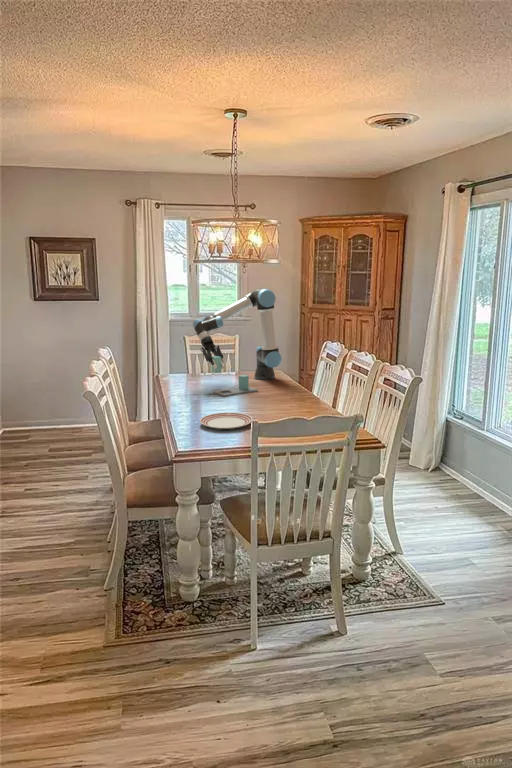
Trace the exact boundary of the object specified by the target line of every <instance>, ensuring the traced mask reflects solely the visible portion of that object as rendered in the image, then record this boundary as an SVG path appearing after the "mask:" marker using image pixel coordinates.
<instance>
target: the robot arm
mask: <svg viewBox="0 0 512 768" xmlns="http://www.w3.org/2000/svg"><path fill="white" fill-rule="evenodd" d="M275 303H276V295H275V293H274V292H273V291H272V290H270V289H268V288H261V287H260V288H257V289H255V290H253V291H251V292H249V293H248V294H245V296H244V297H243V298H241V299H240V300H237V301H235V302H233V303H231V304H229V305H227V306H225V307H224V308H222V309H220V310H217V311H216V312H214V313H212V314H210V315H206V316H205V317H203V319H202V318H196V319H195V320H194V321H193V322H192V327H193V329H194V331H195V333H196V335H197V337H198V339H199V341H200V344H201V348H200V351H201V353H202V354H203V356H204V359H205V361H206V362H208V363H210V365H211V366H212V365H213V367H214V369H215V370H216V369H217V365H216V363H215V361H214V359H212V357H213V356H212V354H213V355H214V357H215V356H219V357H221V370H223V369H224V368H225V364H224V361H223V359H224V355H223V352H222V351H221V349H220V345H219V344H218V345H216V344H215V343H214V340H213V339H212V337H211V334H210V332H211V331H214V330H217V329H220V328H222V327H224V321H226V320H228V319H230V318H232V317H233V316H236V315H238V314H239V313H242V312H243V311H246V310H247V309H249V308H251V309H252V308H254V307H256V308H257V311H258V312H259V314H260V315H259V317H260V325H261V333H262V343H263V345H262V346H257V347H256V368H255V373H254V375H253V377H254V379H256V380H264V381H265V380H268V381H269V380H274V379H275V378H276V373H275V370H274V368H276V367H278V366H279V365H280V364H281V363H282V355H281V353H280V352H279V351H280V350H279V346H278V345H277V342H276V335H275V334H276V332H275V322H274V315H273V314H274V313H273V310H274V309H275Z"/></svg>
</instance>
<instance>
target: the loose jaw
mask: <svg viewBox="0 0 512 768" xmlns="http://www.w3.org/2000/svg"><path fill="white" fill-rule="evenodd" d="M212 359H214V361H215V363H216V365H217V369H216V370H215V369H214V367H213V365H211V373H214V374H219V373H222V368H221V357H219V356H215V355H214V356H212Z"/></svg>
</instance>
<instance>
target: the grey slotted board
mask: <svg viewBox="0 0 512 768" xmlns="http://www.w3.org/2000/svg"><path fill="white" fill-rule="evenodd" d="M256 392H257V393H258V389H257V388H253V387H250V386H249V389H246V390H241V389H239V386H237V387H231V388H224V389H219V390H213V391H212V392H211V394H214V395H217V396H220V397H223V398H226V397H227V398H228V397H233V396H238V395H244V394H249V393H256Z"/></svg>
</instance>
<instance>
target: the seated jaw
mask: <svg viewBox="0 0 512 768" xmlns="http://www.w3.org/2000/svg"><path fill="white" fill-rule="evenodd" d="M249 385H250V383H249V375H247V374H241V375H238V387H239V389H241V390H246V389H249V387H250V386H249Z"/></svg>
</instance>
